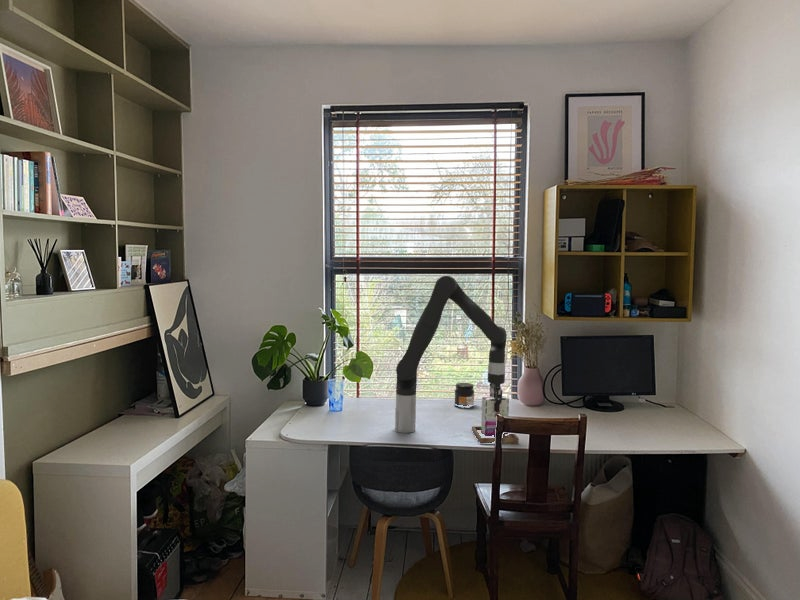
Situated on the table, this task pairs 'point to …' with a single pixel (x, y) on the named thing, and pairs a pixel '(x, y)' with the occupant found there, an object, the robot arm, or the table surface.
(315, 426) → the table surface
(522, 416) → the table surface
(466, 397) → the supplement container
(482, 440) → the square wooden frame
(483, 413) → the candy bar box
